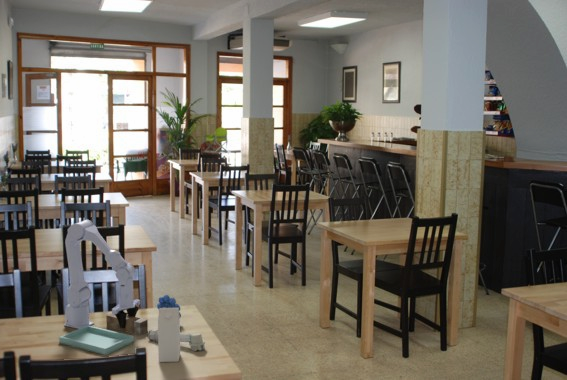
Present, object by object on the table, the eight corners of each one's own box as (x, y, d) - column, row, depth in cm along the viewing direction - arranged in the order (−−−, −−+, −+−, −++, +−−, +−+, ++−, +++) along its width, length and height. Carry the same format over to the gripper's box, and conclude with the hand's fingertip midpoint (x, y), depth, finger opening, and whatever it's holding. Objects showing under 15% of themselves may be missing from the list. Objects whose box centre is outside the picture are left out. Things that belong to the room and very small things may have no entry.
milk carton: (160, 354, 235) (159, 305, 232) (180, 354, 235) (179, 304, 233) (158, 362, 228) (157, 311, 225) (178, 362, 228) (177, 311, 226)
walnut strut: (106, 327, 263) (106, 315, 262) (114, 323, 267) (114, 312, 266) (140, 334, 254) (139, 322, 254) (147, 331, 258) (147, 319, 258)
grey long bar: (154, 327, 253) (206, 329, 241) (156, 343, 253) (208, 346, 241) (146, 331, 248) (198, 334, 236) (148, 348, 248) (200, 351, 237)
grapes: (151, 323, 267) (151, 296, 266) (161, 318, 274) (160, 291, 272) (174, 327, 263) (174, 299, 261) (183, 322, 269) (183, 295, 267)
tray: (59, 343, 245) (59, 337, 245) (88, 331, 258) (88, 325, 258) (105, 355, 234) (105, 348, 233) (133, 342, 247) (133, 336, 246)
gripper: (121, 300, 250) (121, 333, 252) (145, 290, 263) (146, 322, 265) (107, 297, 254) (108, 330, 256) (132, 288, 266) (133, 319, 268)
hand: (126, 325), depth 260 cm, fingers closed on walnut strut, 4 cm apart
